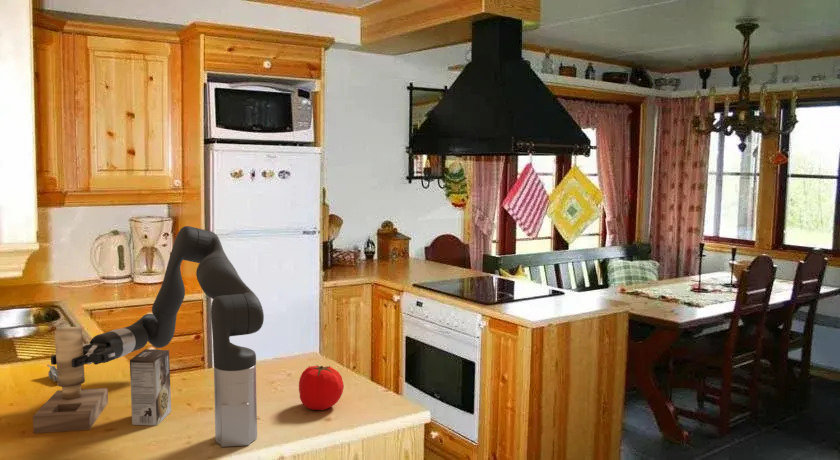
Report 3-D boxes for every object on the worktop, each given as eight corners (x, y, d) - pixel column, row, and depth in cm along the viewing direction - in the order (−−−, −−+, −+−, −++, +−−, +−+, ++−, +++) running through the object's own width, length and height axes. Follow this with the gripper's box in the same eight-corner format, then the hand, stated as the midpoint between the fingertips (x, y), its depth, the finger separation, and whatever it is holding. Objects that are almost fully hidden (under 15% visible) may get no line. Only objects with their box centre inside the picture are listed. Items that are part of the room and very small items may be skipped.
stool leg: (81, 400, 172) (77, 332, 170) (54, 401, 171) (50, 333, 169) (88, 391, 178) (85, 326, 176) (62, 393, 177) (59, 327, 175)
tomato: (288, 407, 180) (287, 365, 178) (322, 396, 188) (322, 355, 187) (319, 419, 172) (318, 375, 171) (353, 406, 180) (353, 364, 179)
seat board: (89, 429, 164) (88, 413, 163) (33, 433, 161) (32, 416, 161) (108, 402, 181) (107, 387, 181) (57, 405, 179) (57, 390, 179)
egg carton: (46, 378, 202) (45, 364, 201) (74, 372, 207) (73, 359, 207) (58, 386, 194) (57, 372, 194) (86, 380, 199) (86, 366, 199)
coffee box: (146, 411, 176) (144, 348, 174) (172, 412, 176) (170, 349, 174) (130, 425, 167) (128, 359, 165) (157, 426, 167) (155, 359, 165)
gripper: (91, 328, 189) (38, 344, 173) (134, 333, 184) (85, 350, 168) (92, 355, 189) (40, 373, 174) (135, 361, 185) (86, 380, 169)
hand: (62, 362), depth 171 cm, fingers closed on stool leg, 6 cm apart
